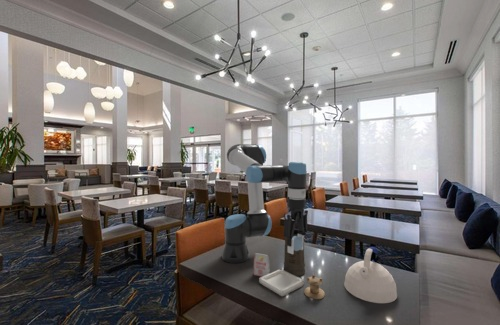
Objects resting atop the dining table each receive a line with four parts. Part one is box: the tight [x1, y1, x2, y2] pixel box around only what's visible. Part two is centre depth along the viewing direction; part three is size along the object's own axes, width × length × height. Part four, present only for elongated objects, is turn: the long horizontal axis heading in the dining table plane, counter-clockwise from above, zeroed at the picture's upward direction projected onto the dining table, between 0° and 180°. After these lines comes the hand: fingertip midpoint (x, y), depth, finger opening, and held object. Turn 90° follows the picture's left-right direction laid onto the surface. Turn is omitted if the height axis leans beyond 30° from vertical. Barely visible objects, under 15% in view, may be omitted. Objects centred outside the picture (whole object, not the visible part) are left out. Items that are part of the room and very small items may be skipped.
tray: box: [258, 268, 305, 297], centre depth 109 cm, size 14×14×2 cm
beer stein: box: [282, 229, 306, 277], centre depth 123 cm, size 15×11×20 cm
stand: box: [304, 274, 326, 300], centre depth 101 cm, size 8×8×7 cm
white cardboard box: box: [253, 252, 271, 277], centre depth 117 cm, size 4×7×10 cm, turn 65°
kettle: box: [343, 246, 398, 304], centre depth 104 cm, size 20×21×18 cm
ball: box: [293, 236, 303, 251], centre depth 105 cm, size 6×6×6 cm
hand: (295, 250), depth 106 cm, fingers closed on ball, 6 cm apart
